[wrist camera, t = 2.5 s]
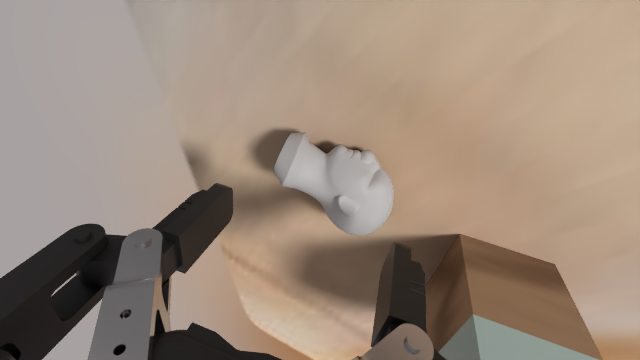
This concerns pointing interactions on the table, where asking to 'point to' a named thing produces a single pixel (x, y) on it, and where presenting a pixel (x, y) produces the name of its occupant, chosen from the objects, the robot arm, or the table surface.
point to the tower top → (502, 344)
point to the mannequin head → (338, 183)
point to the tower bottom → (503, 296)
